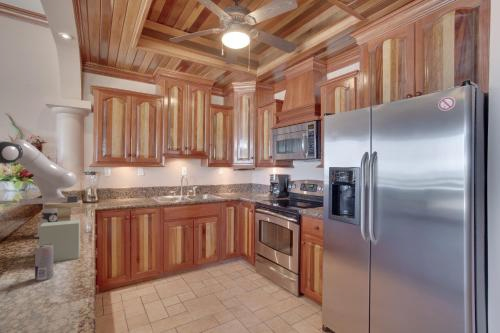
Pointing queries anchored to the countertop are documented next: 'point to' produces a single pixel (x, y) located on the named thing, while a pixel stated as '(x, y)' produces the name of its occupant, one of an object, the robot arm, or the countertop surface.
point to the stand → (63, 210)
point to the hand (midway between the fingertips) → (3, 216)
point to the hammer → (49, 200)
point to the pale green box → (61, 239)
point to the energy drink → (43, 262)
